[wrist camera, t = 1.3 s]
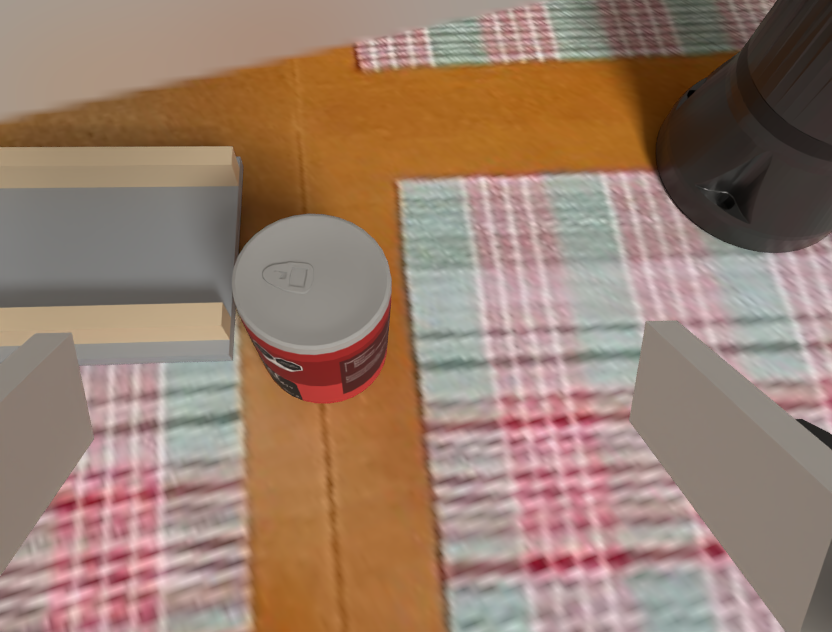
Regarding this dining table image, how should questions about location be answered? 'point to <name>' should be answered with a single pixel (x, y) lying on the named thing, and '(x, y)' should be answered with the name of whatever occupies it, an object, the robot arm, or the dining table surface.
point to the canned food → (315, 305)
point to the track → (121, 250)
